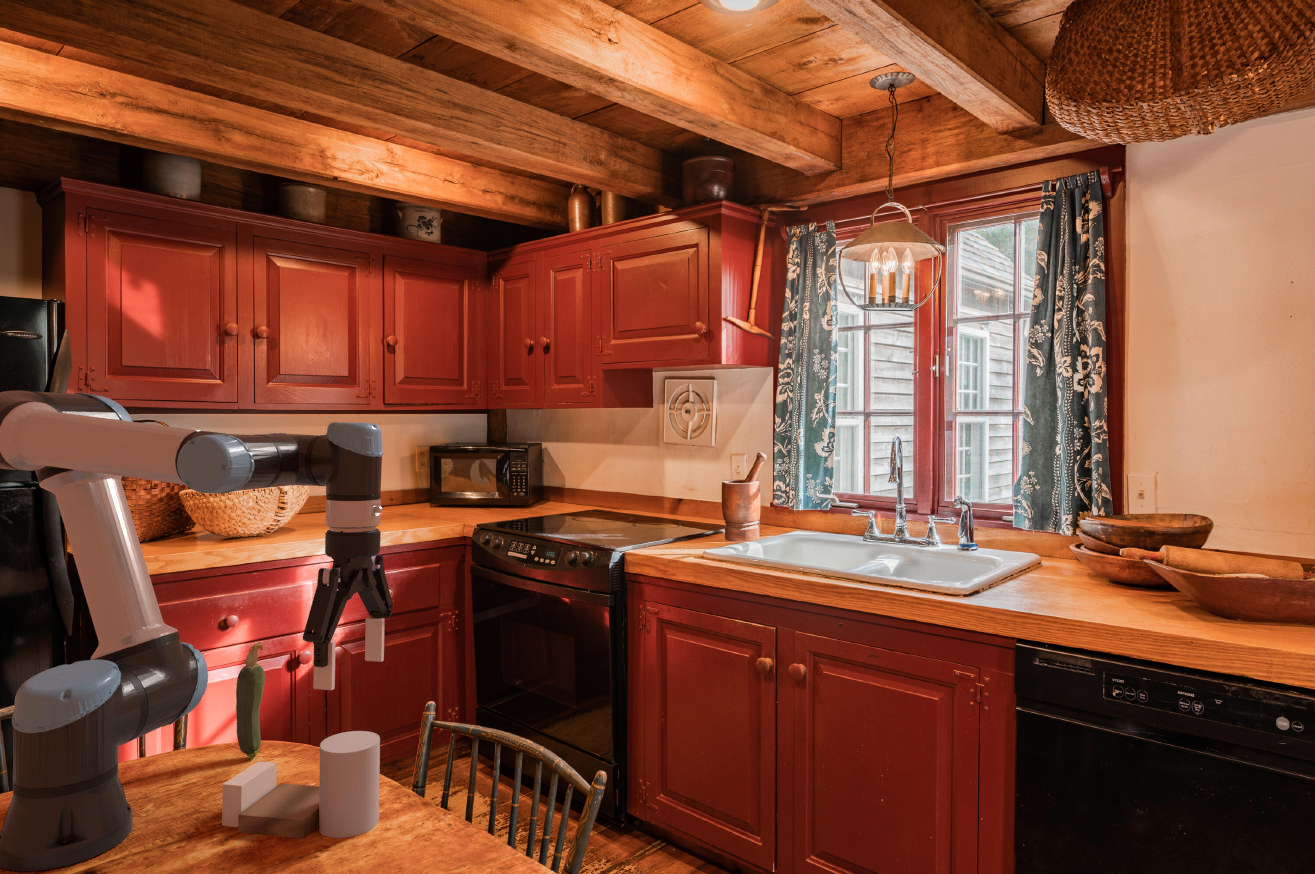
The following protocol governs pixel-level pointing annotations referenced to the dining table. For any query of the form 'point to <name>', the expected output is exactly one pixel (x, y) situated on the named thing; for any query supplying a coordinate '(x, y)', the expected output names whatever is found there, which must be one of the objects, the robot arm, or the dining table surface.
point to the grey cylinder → (349, 784)
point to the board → (283, 812)
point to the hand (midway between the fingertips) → (350, 673)
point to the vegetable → (249, 703)
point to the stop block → (246, 790)
